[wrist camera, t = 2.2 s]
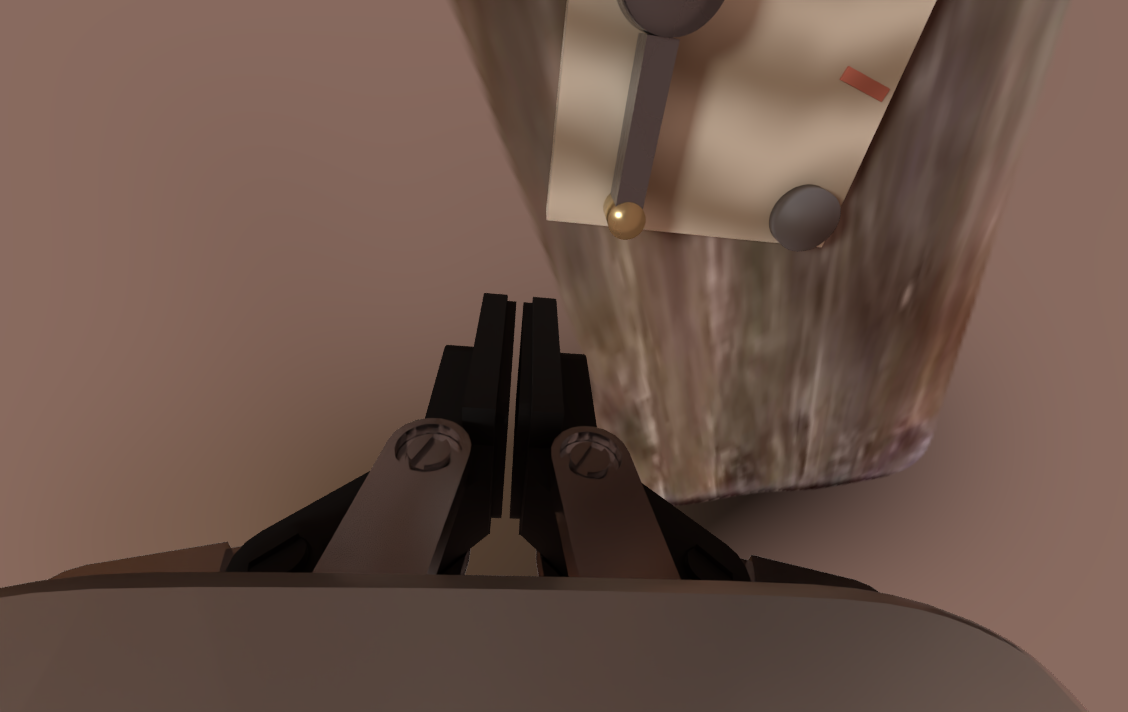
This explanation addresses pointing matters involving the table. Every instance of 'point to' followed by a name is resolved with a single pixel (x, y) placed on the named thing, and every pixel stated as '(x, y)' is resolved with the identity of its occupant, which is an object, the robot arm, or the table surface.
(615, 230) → the grey lever handle
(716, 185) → the plate
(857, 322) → the table surface
